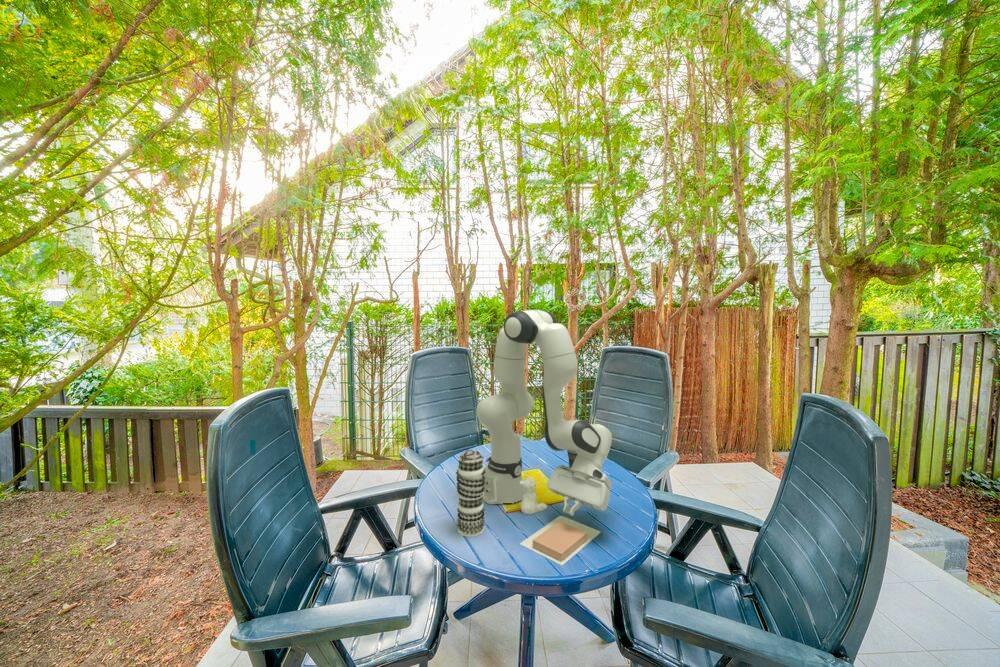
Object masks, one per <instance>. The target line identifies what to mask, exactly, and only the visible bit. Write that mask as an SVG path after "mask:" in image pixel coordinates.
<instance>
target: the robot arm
mask: <svg viewBox="0 0 1000 667" xmlns="http://www.w3.org/2000/svg"><path fill="white" fill-rule="evenodd" d="M532 343H535V344H536V345H537V346H538V348H539V350H540V355H541V359H542V364H543V378H542V381H541V382H542V384H541V388H542V389H541V390H542V400H543V408H544V417H545V418H544V419H545V425H544V426H545V427H544V439H545V442H546V444H547V446H548V447H549V448H550V449H552V450H553V451H555V452H562V451H567V450H573V451H576V452H577V456H576V459H575V461H574V463H573V465H572V468H570V467H569V466H565V465H563V464H561V465H558V466H555V468H554V470H553V473H552V474H551V476H550V477H549V479H548V481H547V482H546V487H547V490H549V491H550V493H553V494H555V495H558V496H561V497H563V502H564V504H563V505H564V506H563V508H562V512H563V513H565V514H566V515H567V514H568V515H569V516H574V514H575V512H576V511H578V509H580V508H581V507H582V505H584V506H587V507H590V508H591V509H594V510H595V509H596V510H597V511H600V512H605V511H606V510H607V508H608V505H609V502H610V498H611V491H610V490H611V489H612V487H613V483H612V482H611V479H610V478H609V477H608V476H607V475H606V474H605V473H604V472H603V471H602V470H603V464H604V462H605V461H606V460H607V457H608V455H609V452H610V450H611V446H612V442H613V434H612V432H611V431H610V429H609V428H607V427H606V426H604V425H602V424H599V423H591V422H590V423H589V422H588V421H587V420H582V419H570V420H566V419H565V418H564V415H563V414H564V413H563V409H562V407H563V406H562V397H561V396H562V391H563V389H564V388H565V387H566V386H567V385H568V384H569V383H570V382H571V381H572V380H573V379H574V378H575V376H576V375H577V373H578V370H579V368H578V367H579V366H578V365H579V364H578V359H577V354H576V351H575V347H574V344H573V341H572V338H571V335H570V333H569V331H568V328H567V327H566V326H565V325H564V324H562V323H558V321H557V317H555V315H554V314H553V312H550V311H548V310H546V309H545V310H544V309H527V310H517V311H513V312H510V313H509V314H508V315H507V316H506V318H504V322H503V327H502V328H501V329H500V330H499V333H498V335H497V340H496V344H495V352H494V361H493V362H494V363H493V364H494V365H493V377H494V379H495V380H496V381H497V382H499V383H500V386H501V392H500V393H497V394H492V395H489V396H487V397H485V398H483V399H482V400H480V401H479V402H478V403H477V406H476V409H475V410H476V411H475V413H476V417H477V419H478V421H479V422H480V424H481V425H482V426H484V427H485V428H486V430H487V431H488V434H489V438H490V452H491V453H490V456H489V457H487V458H486V459H485V462H486V463H487V462H488V463H487V465H486V466H485V467H483V469H484V470H485V474H484V475H483V476H484V477H485V479H484V481H485V484H484V485H483V487H484V488H485V490H484V496H483V502H485V503H487V505H498V504H500V505H504V504H503V503H512V504H515V503H514V502H516V503H519V502H522V500H523V494H524V493H525V490H524V488H522V486H521V485H520V482H519V481H523V476H522V470H523V459H522V456H521V455H522V454H521V453H522V448H521V447H522V440H521V437H520V436H519V434H518V433H516V432H515V431H514V430H513V426H512V424H513V422H514V421H517V420H521V419H523V418H525V417H526V416H528V415H529V414H531V413H533V410H534V408H535V401H534V398H533V396H532V395H531V393H530V392H529V391H528V390H527V387H526V383H525V365H526V364H525V363H526V351H527V345H528V344H532ZM518 501H519V502H518ZM572 501H573V502H574V505H572V506H571V507H570V503H571V502H572Z"/></svg>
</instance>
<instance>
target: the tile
mask: <svg viewBox="0 0 1000 667" xmlns="http://www.w3.org/2000/svg"><path fill="white" fill-rule="evenodd" d="M586 540H587V532H584V531H582V530H579V529H577V528H575V527H572V526H570V525H567V524H565V523H563V522H560V521H559V522H557V523H556V524H554V525H553V526H552V527H550V528H549V529H547V530H546V531H545V532H543V533H542V534H540V535H539V536H538V537H536V538H535V539H533V547H534V548H536V549H538V550H540V551H542V552H544V553H546V554H548V555H550V556H552V557H554V558H556V559H558V560H560V561H562V560H563V559H564V558H566V557H567V556H568V555H569V554H570V553H571V552H573V551H574V550H575V549H576V548H577V547H579V546H580V545H581V544H582V543H583V542H584V541H586Z"/></svg>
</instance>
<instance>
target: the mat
mask: <svg viewBox="0 0 1000 667" xmlns="http://www.w3.org/2000/svg"><path fill="white" fill-rule="evenodd" d="M559 521H560V522H563V523H565V524H567V525H570V526H572V527H575V528H577V529H579V530H582V531H584V532H587V540H586V541H584V542H583V543H582V544H581V545H580V546H579V547H577V548H576V549H575V550H574V551H573V552H571V553H570V554H569V555H568V556H567V557H566V558H564V559H563V560H562V561H560V560H558V559H556V558H554V557H552V556H550V555H548V554H546V553H544V552H542V551H540V550H538V549H536V548H534V547H533V539H535V538H536V537H538V536H539V535H540V534H542V533H543V532H545V531H546V530H547V529H549V528H550V527H552V526H553V525H554V524H556V523H557V522H559ZM601 533H602V532H601V531H600V530H597V529H595V528H593V527H590V526H588V525H586V524H583V523H580V522H578V521H577V520H573V519H571V518H569V517H565V516H563V515H559V516H557V517H556V518H554V519H553V520H552V521H550V522H549V523H548V524H546V525H544V526H543V527H542V528H540V529H538V530H537V531H536V532H534V533H533V534H531V535H530V536H528V537H527V538H526V539H524V540H523V541H521V542H519V545H521V546H523V547H525V548H527V549H529V550H530V551H532V552H535V553H536V554H539V555H541V556H543V557H544V558H547V559H549V560H550V561H553V562H554V563H557V564H558V565H560V566H564V565H565V564H566V563H567V562H568V561H569V560H570V559H572V558H573V557H574V556H576V554H577V553H578V552H580V551H581V550H582V549H583V548H584V547H585V546H587V545H588V544H589V543H591V542H592V541H593V539H595V538H596V537H597V536H598V535H599V534H601Z"/></svg>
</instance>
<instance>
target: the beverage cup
mask: <svg viewBox="0 0 1000 667" xmlns="http://www.w3.org/2000/svg"><path fill="white" fill-rule="evenodd" d="M566 452H567V457H568V467H570V468H572V465H573V463H574V461H575V459H576V456H577V452H576V451H573V450H566Z"/></svg>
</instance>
